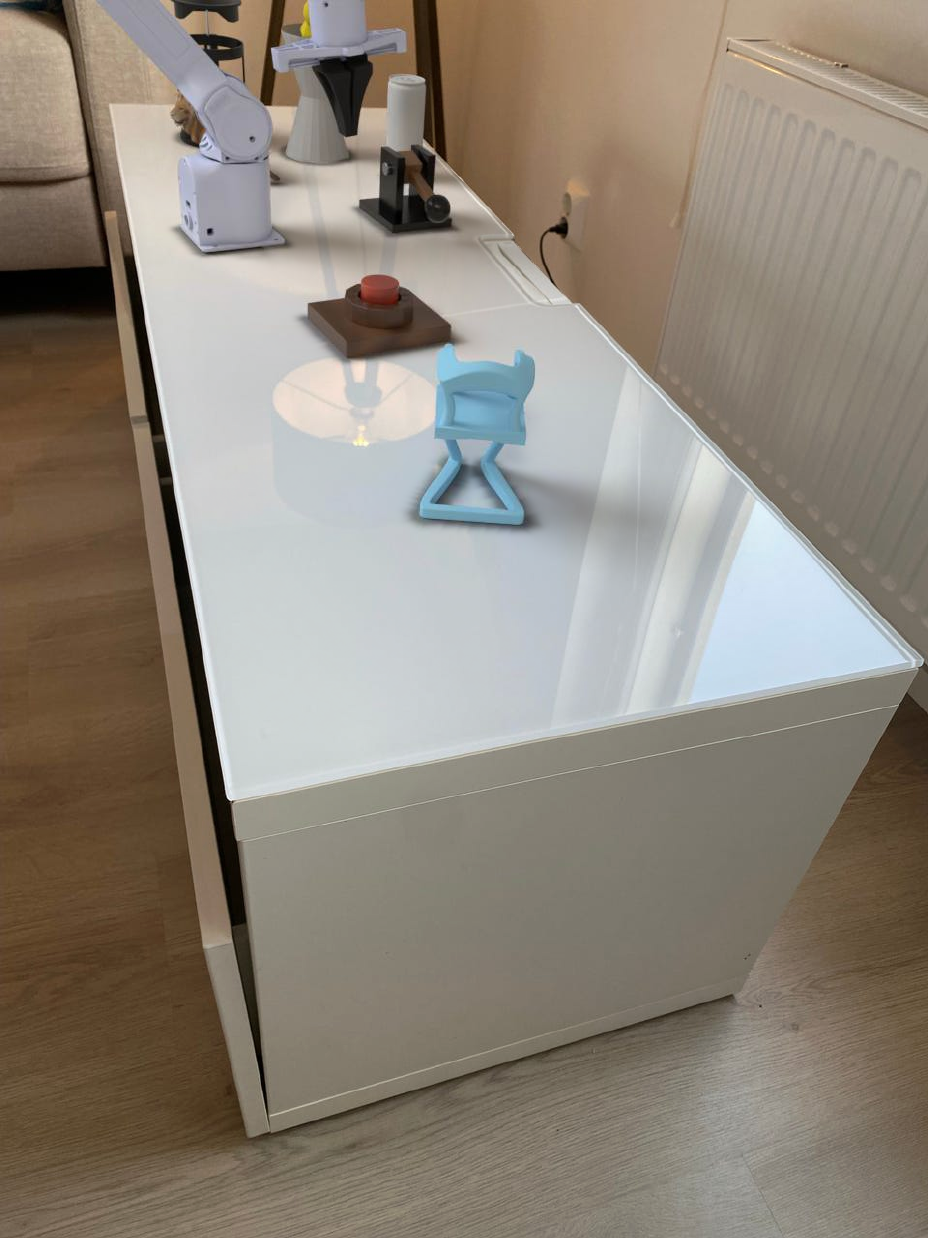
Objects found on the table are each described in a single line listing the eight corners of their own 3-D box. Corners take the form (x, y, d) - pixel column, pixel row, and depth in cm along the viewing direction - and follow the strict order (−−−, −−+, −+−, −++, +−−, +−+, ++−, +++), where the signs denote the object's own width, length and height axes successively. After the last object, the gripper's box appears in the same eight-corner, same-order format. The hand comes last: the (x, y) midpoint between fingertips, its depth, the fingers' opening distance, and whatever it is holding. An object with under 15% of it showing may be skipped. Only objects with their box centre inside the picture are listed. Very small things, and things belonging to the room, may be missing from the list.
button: (371, 309, 94) (371, 291, 92) (354, 294, 96) (354, 276, 95) (405, 304, 95) (406, 286, 94) (387, 289, 97) (388, 271, 96)
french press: (249, 151, 136) (240, -50, 121) (177, 148, 135) (159, -56, 120) (249, 127, 145) (241, -64, 130) (182, 123, 143) (166, -70, 129)
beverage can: (419, 185, 132) (425, 84, 124) (383, 181, 132) (386, 80, 124) (421, 174, 136) (427, 75, 128) (386, 170, 135) (389, 71, 128)
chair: (518, 466, 81) (539, 324, 73) (523, 526, 74) (546, 377, 67) (422, 459, 80) (433, 315, 72) (419, 518, 74) (430, 368, 66)
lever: (452, 226, 116) (457, 203, 113) (429, 229, 115) (434, 205, 112) (411, 170, 120) (415, 147, 118) (388, 172, 119) (393, 148, 117)
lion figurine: (168, 167, 128) (161, 90, 123) (191, 157, 132) (185, 82, 126) (271, 190, 125) (268, 112, 119) (291, 179, 129) (289, 103, 123)
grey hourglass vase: (282, 142, 141) (274, -174, 118) (347, 145, 142) (351, -166, 120) (285, 163, 134) (278, -169, 111) (353, 165, 136) (359, -160, 113)
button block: (346, 359, 92) (347, 322, 90) (307, 319, 98) (306, 284, 96) (450, 341, 97) (453, 306, 95) (407, 304, 103) (408, 270, 100)
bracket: (451, 228, 121) (457, 160, 116) (392, 235, 117) (395, 165, 112) (416, 203, 126) (420, 137, 121) (358, 209, 123) (360, 141, 118)
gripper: (282, 7, 96) (301, 156, 105) (417, -12, 101) (423, 131, 110) (256, -7, 101) (276, 137, 110) (386, -24, 106) (394, 114, 115)
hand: (348, 133), depth 110 cm, fingers closed
